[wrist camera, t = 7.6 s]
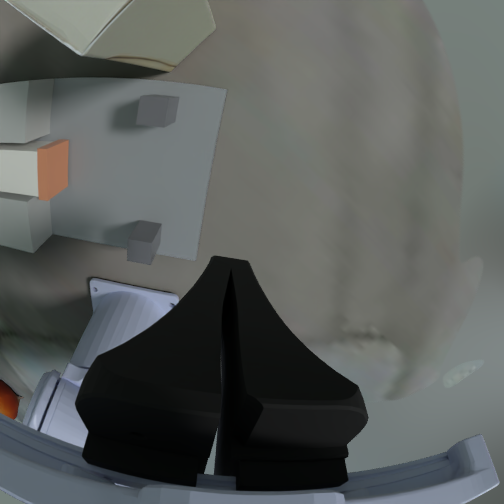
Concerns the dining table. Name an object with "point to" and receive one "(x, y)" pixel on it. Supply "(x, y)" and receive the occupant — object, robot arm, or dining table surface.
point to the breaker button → (34, 168)
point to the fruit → (8, 401)
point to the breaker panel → (115, 162)
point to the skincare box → (124, 28)
